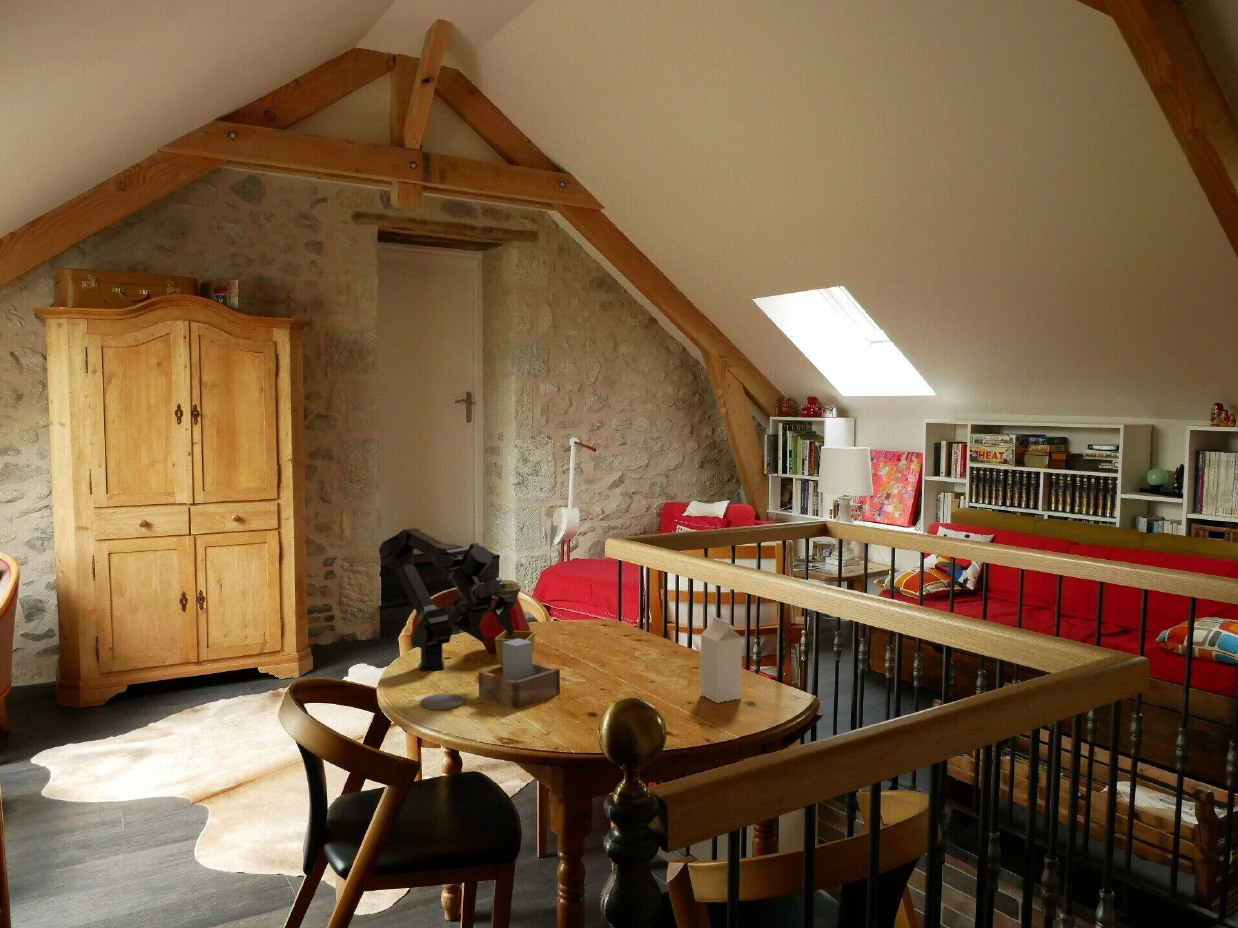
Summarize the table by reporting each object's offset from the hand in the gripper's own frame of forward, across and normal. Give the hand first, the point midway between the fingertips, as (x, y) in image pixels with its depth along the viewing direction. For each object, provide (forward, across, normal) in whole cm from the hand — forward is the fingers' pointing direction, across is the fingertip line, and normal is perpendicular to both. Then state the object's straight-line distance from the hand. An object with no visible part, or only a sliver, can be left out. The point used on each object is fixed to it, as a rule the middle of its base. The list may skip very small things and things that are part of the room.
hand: (498, 637), depth 223 cm
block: (+14, 0, +4) cm, 15 cm away
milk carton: (+41, +31, -22) cm, 56 cm away
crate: (+14, 0, +4) cm, 15 cm away
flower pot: (+2, +14, +16) cm, 22 cm away
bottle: (-8, +23, +26) cm, 36 cm away
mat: (+8, -16, +10) cm, 21 cm away
